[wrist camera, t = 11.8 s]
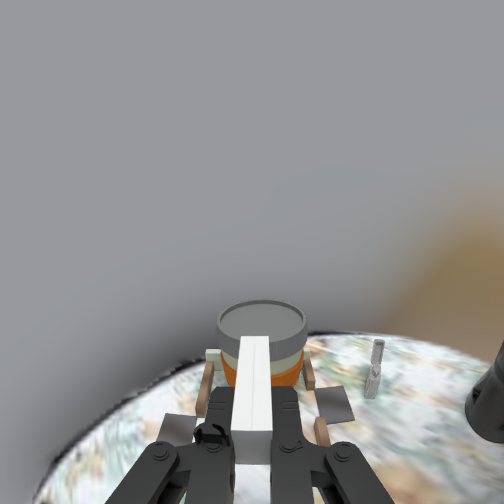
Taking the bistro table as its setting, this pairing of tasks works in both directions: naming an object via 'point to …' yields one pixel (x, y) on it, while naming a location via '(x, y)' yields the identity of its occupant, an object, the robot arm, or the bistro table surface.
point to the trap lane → (328, 399)
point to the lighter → (374, 370)
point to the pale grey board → (215, 357)
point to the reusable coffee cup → (264, 324)
